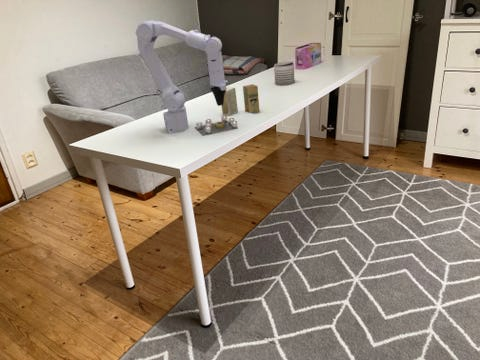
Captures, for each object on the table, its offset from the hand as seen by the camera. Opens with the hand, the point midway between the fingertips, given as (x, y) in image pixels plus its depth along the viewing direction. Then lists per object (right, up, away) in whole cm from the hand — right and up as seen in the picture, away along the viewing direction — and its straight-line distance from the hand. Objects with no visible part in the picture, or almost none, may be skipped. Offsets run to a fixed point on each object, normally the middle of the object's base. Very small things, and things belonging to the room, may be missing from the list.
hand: (220, 105), depth 157 cm
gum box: (+55, +48, +111) cm, 133 cm away
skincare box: (+4, -1, +21) cm, 21 cm away
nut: (0, -8, +4) cm, 9 cm away
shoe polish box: (+14, +1, +22) cm, 26 cm away
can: (+34, +25, +69) cm, 81 cm away
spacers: (-2, -9, +3) cm, 9 cm away
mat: (-2, -9, +4) cm, 10 cm away
